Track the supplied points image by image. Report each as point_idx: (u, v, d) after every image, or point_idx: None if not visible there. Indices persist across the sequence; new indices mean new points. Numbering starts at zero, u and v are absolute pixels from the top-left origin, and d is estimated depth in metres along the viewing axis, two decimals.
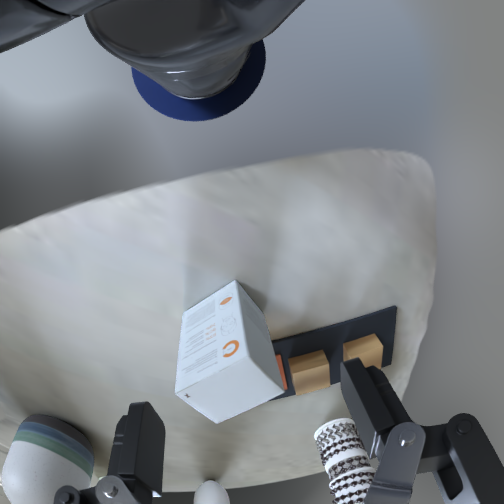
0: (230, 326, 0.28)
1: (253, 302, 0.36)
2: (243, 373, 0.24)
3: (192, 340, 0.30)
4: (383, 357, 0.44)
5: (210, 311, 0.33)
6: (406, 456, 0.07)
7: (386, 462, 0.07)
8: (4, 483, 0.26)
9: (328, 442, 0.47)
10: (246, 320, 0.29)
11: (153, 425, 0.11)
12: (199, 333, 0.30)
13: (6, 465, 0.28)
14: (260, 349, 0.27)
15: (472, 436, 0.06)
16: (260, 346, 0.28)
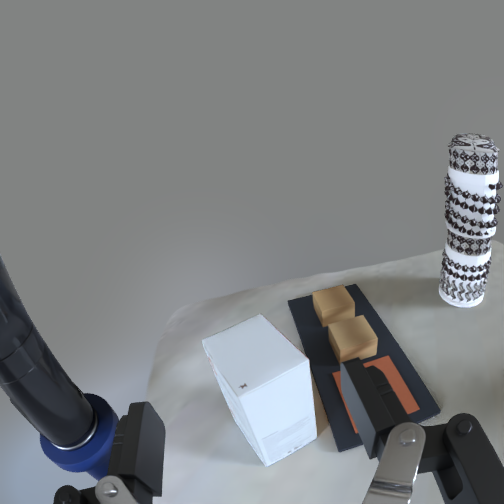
0: (219, 384, 0.28)
1: None
2: (220, 342, 0.26)
3: (243, 424, 0.24)
4: None
5: (240, 425, 0.28)
6: (406, 456, 0.07)
7: (386, 462, 0.07)
8: None
9: (461, 283, 0.38)
10: None
11: (153, 425, 0.11)
12: (239, 419, 0.25)
13: None
14: None
15: (472, 436, 0.06)
16: None
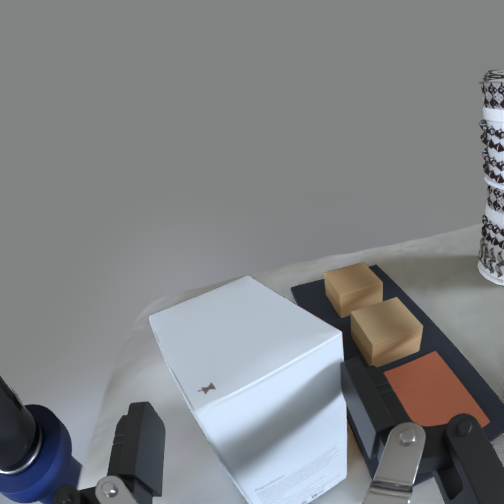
0: None
1: None
2: (176, 317, 0.15)
3: (222, 463, 0.13)
4: None
5: None
6: (406, 456, 0.07)
7: (386, 462, 0.07)
8: None
9: None
10: None
11: (153, 425, 0.11)
12: None
13: None
14: None
15: (472, 436, 0.06)
16: None
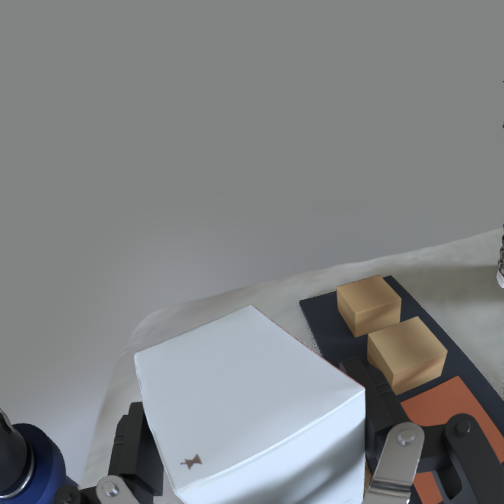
0: None
1: None
2: (164, 358, 0.12)
3: None
4: None
5: None
6: (405, 456, 0.07)
7: (385, 462, 0.07)
8: None
9: None
10: None
11: None
12: None
13: None
14: None
15: (471, 436, 0.06)
16: None
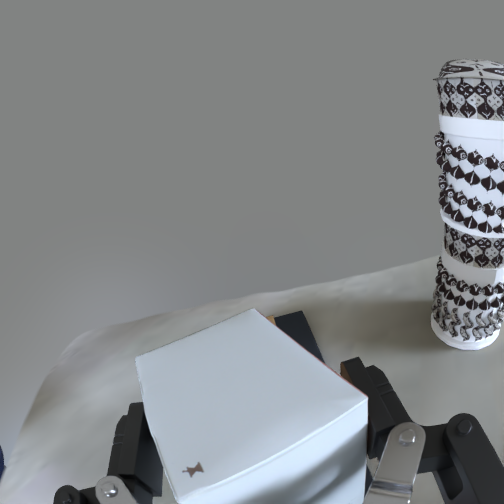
0: None
1: None
2: (165, 362, 0.12)
3: None
4: (283, 324, 0.33)
5: None
6: (406, 456, 0.07)
7: (386, 462, 0.07)
8: None
9: (467, 313, 0.22)
10: None
11: None
12: None
13: None
14: None
15: (472, 436, 0.06)
16: None
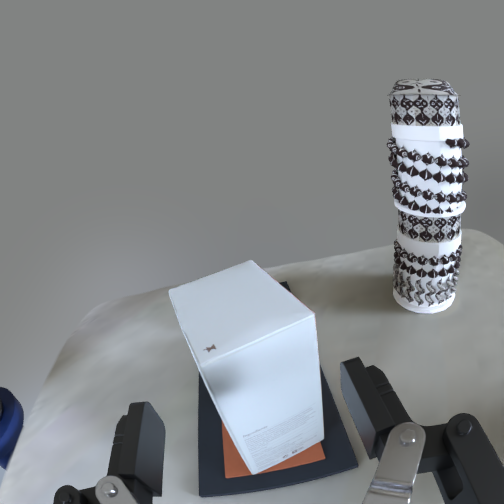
0: None
1: None
2: (191, 292, 0.19)
3: (219, 413, 0.17)
4: None
5: None
6: (406, 456, 0.07)
7: (386, 462, 0.07)
8: None
9: (418, 280, 0.31)
10: None
11: (153, 425, 0.11)
12: None
13: None
14: None
15: (472, 436, 0.06)
16: None
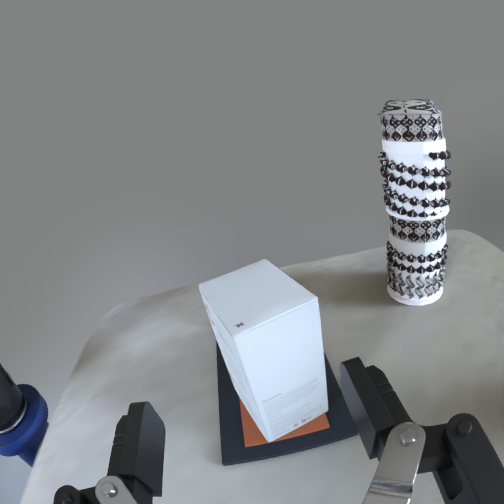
0: (218, 340, 0.25)
1: None
2: (218, 285, 0.24)
3: (242, 384, 0.22)
4: None
5: (240, 391, 0.25)
6: (406, 456, 0.07)
7: (386, 462, 0.07)
8: None
9: (408, 276, 0.35)
10: None
11: (153, 425, 0.11)
12: (238, 379, 0.23)
13: None
14: None
15: (472, 436, 0.06)
16: None
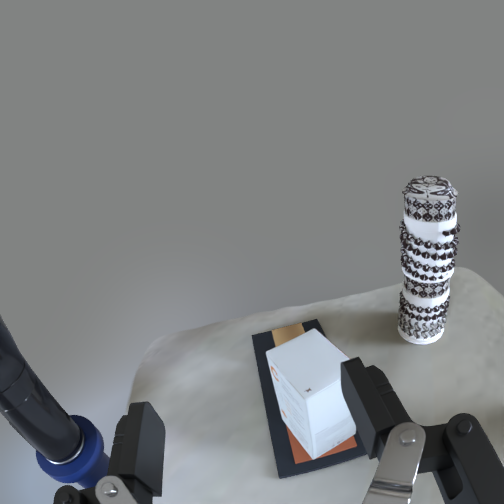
0: (277, 389, 0.32)
1: None
2: (282, 353, 0.30)
3: (299, 422, 0.29)
4: (306, 327, 0.53)
5: (292, 424, 0.32)
6: (406, 456, 0.07)
7: (386, 462, 0.07)
8: None
9: (416, 322, 0.42)
10: None
11: (153, 425, 0.11)
12: (295, 418, 0.29)
13: None
14: None
15: (472, 436, 0.06)
16: None
